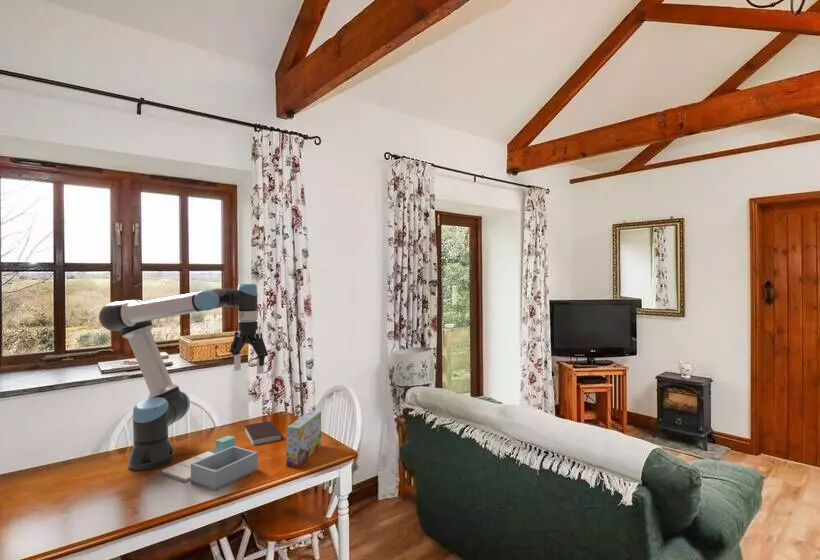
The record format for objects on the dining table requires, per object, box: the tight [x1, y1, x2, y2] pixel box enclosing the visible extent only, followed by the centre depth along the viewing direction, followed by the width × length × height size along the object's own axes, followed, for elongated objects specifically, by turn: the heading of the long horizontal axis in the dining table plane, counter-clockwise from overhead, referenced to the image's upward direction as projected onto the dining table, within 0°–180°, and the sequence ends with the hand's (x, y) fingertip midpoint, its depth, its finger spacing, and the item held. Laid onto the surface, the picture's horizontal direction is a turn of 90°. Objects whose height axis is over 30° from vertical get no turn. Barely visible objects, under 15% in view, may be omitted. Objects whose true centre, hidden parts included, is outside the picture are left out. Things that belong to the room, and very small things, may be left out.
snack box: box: [285, 410, 322, 468], centre depth 174 cm, size 21×6×15 cm, turn 168°
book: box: [244, 421, 283, 446], centre depth 196 cm, size 12×19×3 cm, turn 30°
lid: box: [161, 435, 236, 480], centre depth 168 cm, size 14×25×6 cm, turn 151°
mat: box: [156, 447, 216, 484], centre depth 167 cm, size 16×26×1 cm, turn 151°
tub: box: [190, 445, 259, 492], centre depth 157 cm, size 13×18×6 cm
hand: (248, 371), depth 182 cm, fingers open, 13 cm apart
